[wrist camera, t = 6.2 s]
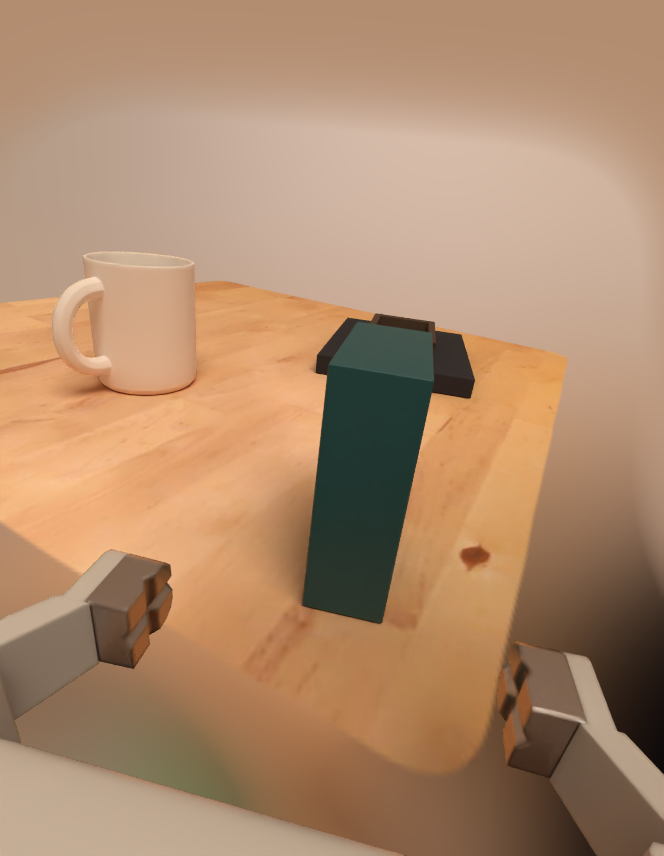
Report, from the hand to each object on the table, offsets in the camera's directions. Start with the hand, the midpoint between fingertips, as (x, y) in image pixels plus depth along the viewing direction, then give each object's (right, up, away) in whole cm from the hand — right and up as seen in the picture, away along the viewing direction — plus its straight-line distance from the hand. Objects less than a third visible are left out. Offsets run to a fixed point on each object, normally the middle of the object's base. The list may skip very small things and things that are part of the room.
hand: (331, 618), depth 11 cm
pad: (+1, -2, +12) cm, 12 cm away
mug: (-17, +8, +29) cm, 35 cm away
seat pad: (+8, +13, +45) cm, 48 cm away
